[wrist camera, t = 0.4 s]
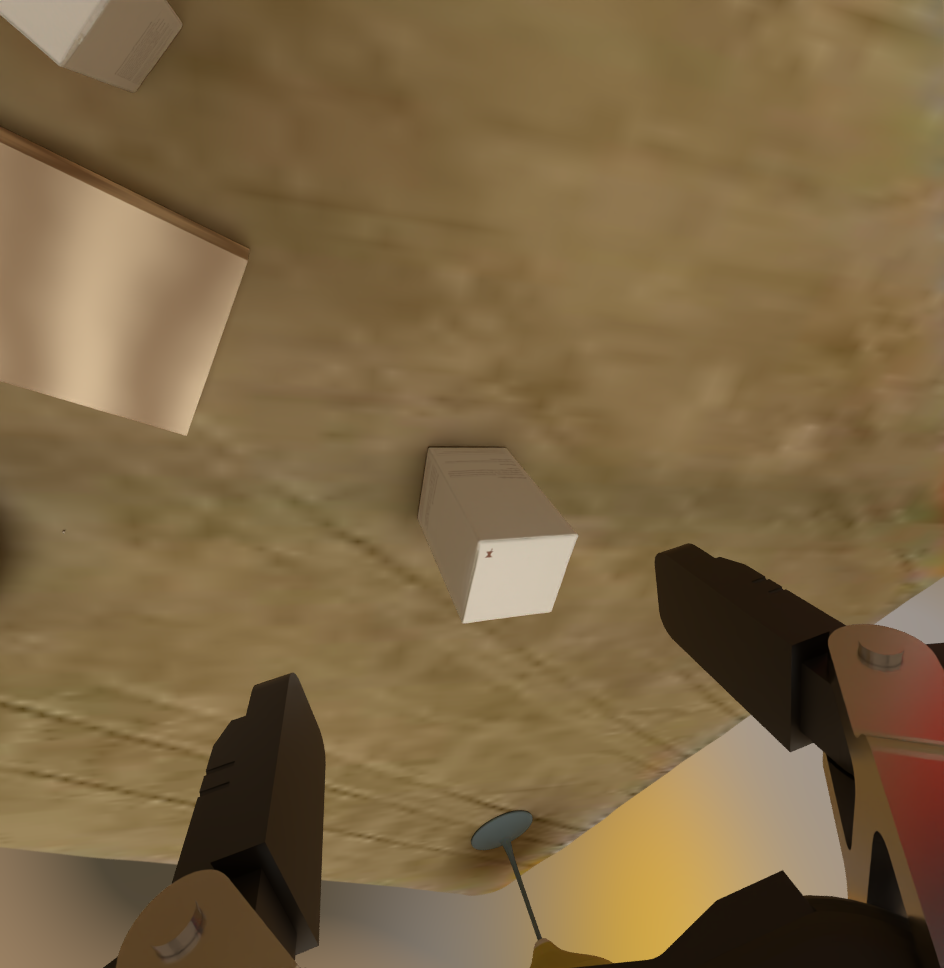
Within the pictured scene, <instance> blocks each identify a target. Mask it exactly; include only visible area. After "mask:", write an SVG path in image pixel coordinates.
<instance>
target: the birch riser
mask: <svg viewBox="0 0 944 968" xmlns="http://www.w3.org/2000/svg"><path fill="white" fill-rule="evenodd" d="M249 251H250V249H249V248H247V247H244V246H242V245H240V244H238V243H236V242H234V241H232V240H230V239H228V238H226V237H224V236H222V235H220V234H218V233H216V232H214V231H212V230H210V229H208V228H206V227H204V226H202V225H200V224H198V223H196V222H194V221H192V220H190V219H188V218H186V217H184V216H181V215H179V214H177V213H175V212H173V211H171V210H169V209H167V208H165V207H163V206H161V205H159V204H157V203H155V202H153V201H151V200H149V199H147V198H145V197H143V196H141V195H139V194H137V193H135V192H133V191H131V190H129V189H127V188H125V187H123V186H121V185H118V184H116V183H114V182H112V181H110V180H108V179H106V178H104V177H102V176H100V175H98V174H96V173H94V172H92V171H90V170H88V169H86V168H84V167H82V166H80V165H78V164H76V163H74V162H72V161H70V160H68V159H66V158H64V157H62V156H60V155H58V154H56V153H53V152H51V151H49V150H47V149H45V148H43V147H41V146H39V145H37V144H35V143H33V142H31V141H29V140H27V139H25V138H23V137H21V136H19V135H17V134H15V133H13V132H11V131H9V130H7V129H5V128H3V127H1V126H0V381H2V382H5V383H9V384H12V385H16V386H19V387H22V388H26V389H29V390H33V391H36V392H39V393H43V394H46V395H50V396H53V397H57V398H60V399H63V400H67V401H70V402H74V403H77V404H80V405H84V406H87V407H91V408H94V409H97V410H101V411H104V412H108V413H111V414H114V415H118V416H121V417H125V418H128V419H131V420H135V421H138V422H142V423H145V424H148V425H152V426H155V427H159V428H162V429H165V430H169V431H172V432H176V433H179V434H183V435H186V436H187V433H188V430H189V427H190V424H191V422H192V419H193V416H194V413H195V410H196V407H197V404H198V402H199V399H200V396H201V393H202V390H203V387H204V384H205V382H206V379H207V376H208V373H209V370H210V367H211V365H212V362H213V359H214V356H215V353H216V350H217V347H218V345H219V342H220V339H221V336H222V333H223V330H224V328H225V325H226V322H227V319H228V316H229V313H230V310H231V308H232V305H233V302H234V299H235V296H236V293H237V290H238V288H239V285H240V282H241V279H242V276H243V273H244V271H245V268H246V265H247V262H248V257H249Z"/></svg>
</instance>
